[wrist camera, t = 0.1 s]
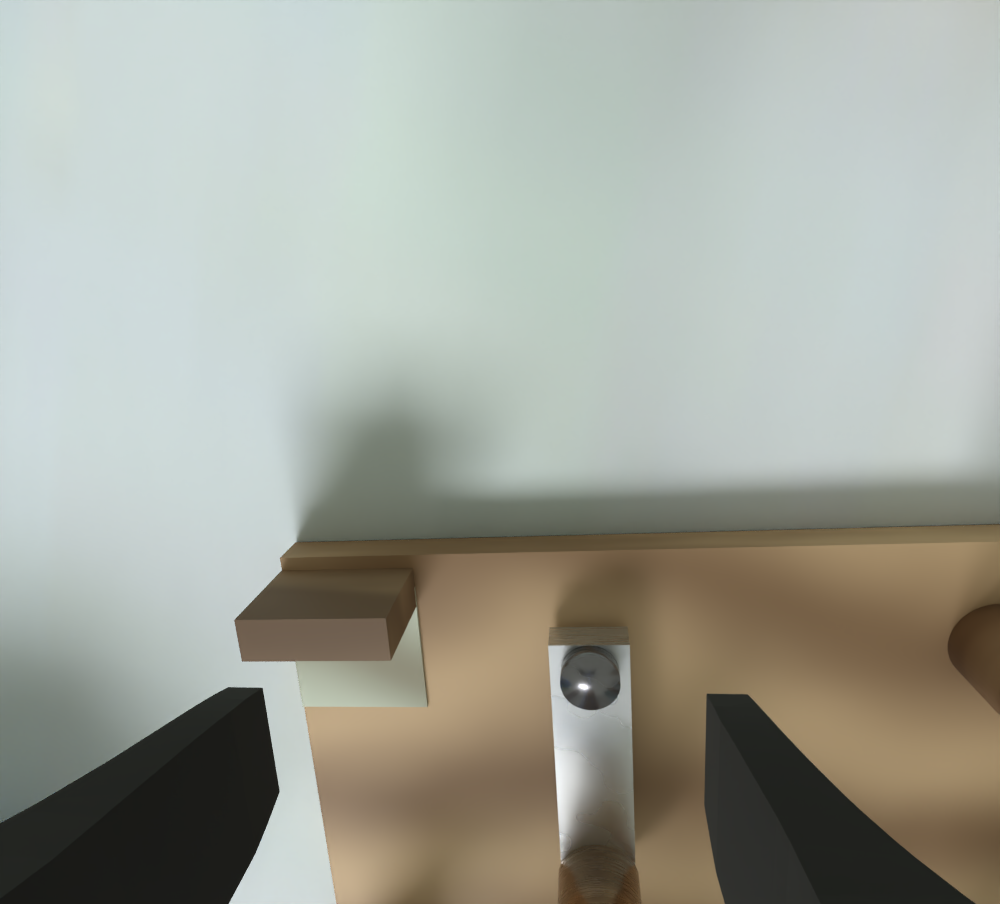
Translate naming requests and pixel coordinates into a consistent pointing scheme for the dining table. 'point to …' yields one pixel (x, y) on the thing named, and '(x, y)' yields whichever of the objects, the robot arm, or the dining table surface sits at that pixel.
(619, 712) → the hinged leg
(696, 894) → the stool seat
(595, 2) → the dining table surface
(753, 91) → the dining table surface
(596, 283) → the dining table surface
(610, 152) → the dining table surface
